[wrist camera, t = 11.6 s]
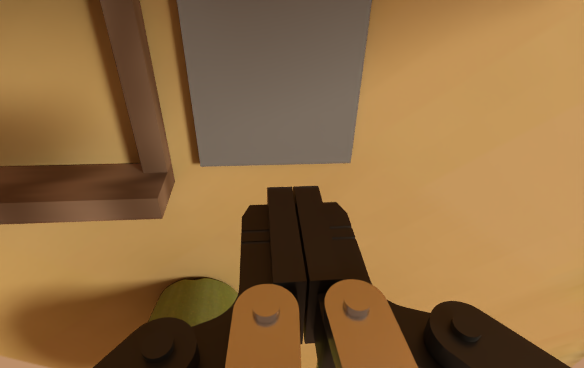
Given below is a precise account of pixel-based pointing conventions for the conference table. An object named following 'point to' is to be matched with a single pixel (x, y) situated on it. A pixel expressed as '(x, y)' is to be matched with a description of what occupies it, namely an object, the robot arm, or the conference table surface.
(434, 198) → the conference table surface
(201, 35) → the pad
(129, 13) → the wooden frame
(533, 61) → the conference table surface
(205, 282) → the plant pot
